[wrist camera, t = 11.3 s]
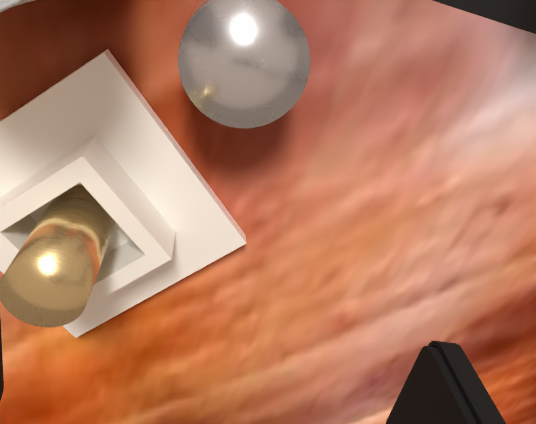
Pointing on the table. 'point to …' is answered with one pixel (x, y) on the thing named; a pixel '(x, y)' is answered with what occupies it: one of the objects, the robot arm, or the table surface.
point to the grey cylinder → (11, 3)
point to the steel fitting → (243, 61)
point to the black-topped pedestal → (501, 11)
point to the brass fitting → (58, 261)
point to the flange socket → (111, 186)
